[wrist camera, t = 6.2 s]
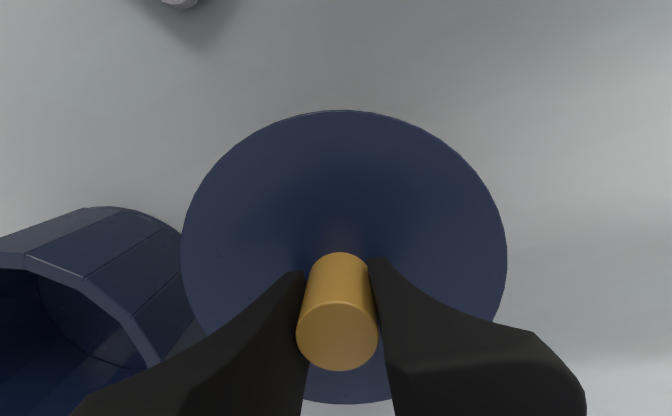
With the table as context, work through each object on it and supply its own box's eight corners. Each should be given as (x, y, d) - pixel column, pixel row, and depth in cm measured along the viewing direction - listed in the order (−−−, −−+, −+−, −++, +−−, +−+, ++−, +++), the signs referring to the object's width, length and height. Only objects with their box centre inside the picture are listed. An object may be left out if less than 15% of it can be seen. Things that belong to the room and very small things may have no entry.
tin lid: (402, 418, 15) (422, 532, 11) (159, 323, 14) (82, 410, 10) (560, 197, 12) (674, 244, 8) (252, 47, 11) (191, 8, 7)
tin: (190, 395, 21) (131, 499, 15) (21, 331, 20) (-108, 418, 14) (246, 256, 18) (199, 323, 12) (48, 172, 17) (-104, 202, 11)
